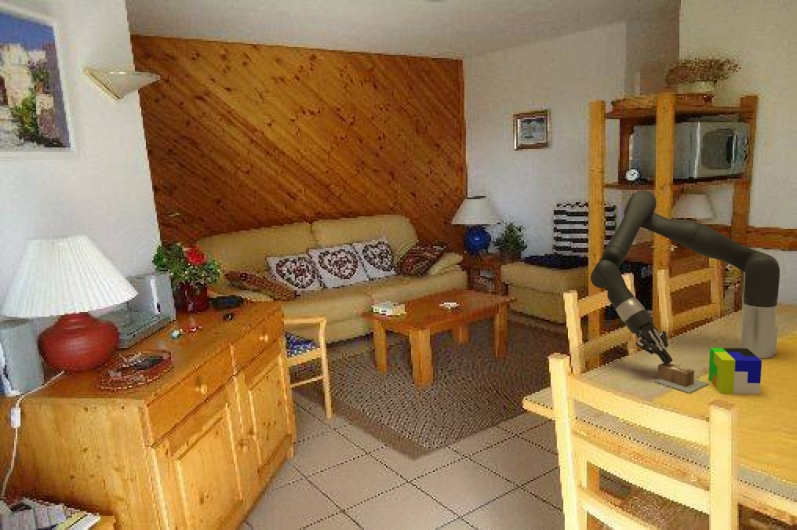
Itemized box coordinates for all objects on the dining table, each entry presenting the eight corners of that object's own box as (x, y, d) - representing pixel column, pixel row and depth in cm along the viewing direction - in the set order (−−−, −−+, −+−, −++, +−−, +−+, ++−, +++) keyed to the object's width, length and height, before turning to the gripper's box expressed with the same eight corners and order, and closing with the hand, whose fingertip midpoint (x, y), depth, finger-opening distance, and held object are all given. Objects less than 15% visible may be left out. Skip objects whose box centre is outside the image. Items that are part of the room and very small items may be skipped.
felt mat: (673, 373, 173) (673, 372, 173) (708, 384, 164) (708, 383, 164) (653, 382, 168) (653, 380, 168) (689, 393, 159) (689, 392, 159)
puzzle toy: (759, 394, 156) (761, 360, 154) (720, 393, 158) (722, 360, 156) (745, 380, 166) (747, 348, 164) (708, 379, 168) (710, 347, 166)
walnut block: (665, 361, 171) (694, 369, 164) (665, 374, 172) (693, 383, 164) (657, 364, 169) (686, 373, 162) (657, 377, 170) (686, 386, 162)
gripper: (639, 317, 182) (673, 363, 174) (613, 325, 175) (647, 374, 167) (654, 304, 177) (690, 351, 169) (628, 313, 170) (664, 362, 162)
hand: (669, 362), depth 168 cm, fingers closed
